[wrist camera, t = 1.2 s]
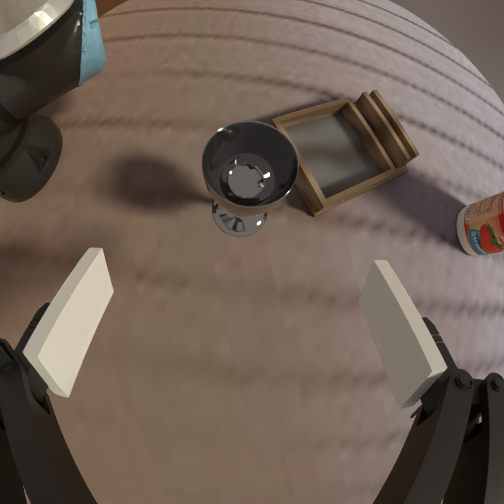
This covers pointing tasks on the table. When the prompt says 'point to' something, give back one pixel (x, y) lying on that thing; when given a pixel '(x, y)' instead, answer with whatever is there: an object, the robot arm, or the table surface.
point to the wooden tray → (345, 148)
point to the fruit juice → (482, 226)
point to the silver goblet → (247, 174)
